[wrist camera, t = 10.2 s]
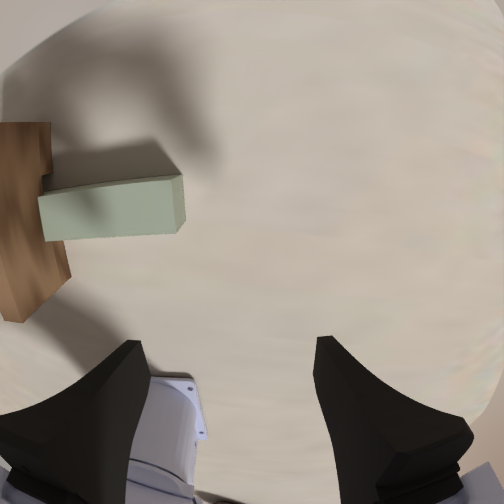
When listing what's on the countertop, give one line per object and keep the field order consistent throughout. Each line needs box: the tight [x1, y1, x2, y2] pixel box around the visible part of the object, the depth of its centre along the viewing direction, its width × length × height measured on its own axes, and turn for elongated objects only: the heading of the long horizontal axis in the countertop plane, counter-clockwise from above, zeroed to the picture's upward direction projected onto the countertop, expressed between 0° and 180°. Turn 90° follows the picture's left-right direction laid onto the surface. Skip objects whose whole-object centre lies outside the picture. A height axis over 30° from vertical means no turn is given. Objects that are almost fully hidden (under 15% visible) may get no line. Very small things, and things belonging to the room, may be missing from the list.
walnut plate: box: [0, 122, 71, 323], centre depth 15 cm, size 12×2×7 cm, turn 2°
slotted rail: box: [38, 174, 186, 242], centre depth 17 cm, size 3×22×3 cm, turn 92°
